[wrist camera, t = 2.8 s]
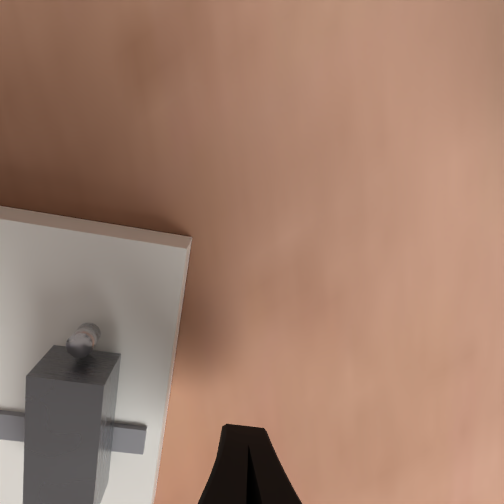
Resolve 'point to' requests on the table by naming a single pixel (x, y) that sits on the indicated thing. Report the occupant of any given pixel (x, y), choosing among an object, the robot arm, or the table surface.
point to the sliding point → (70, 421)
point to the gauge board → (102, 315)
